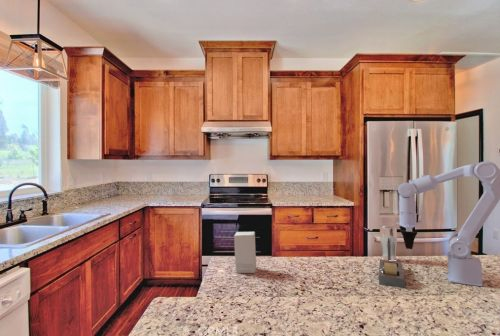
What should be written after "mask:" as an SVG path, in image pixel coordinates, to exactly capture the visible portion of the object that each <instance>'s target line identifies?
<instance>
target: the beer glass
mask: <svg viewBox="0 0 500 336" xmlns="http://www.w3.org/2000/svg"><path fill="white" fill-rule="evenodd" d="M379 227H380V228H379V240H380V246H381V250H382V253H381V254H382V255H381V258H382V257H383V259H385V260H396V259H397V256H396V255H397V254H396V250H397V245H398V232H397V231H398V230H397V226H394V225H380V226H379Z"/></svg>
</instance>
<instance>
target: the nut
mask: <svg viewBox="0 0 500 336" xmlns="http://www.w3.org/2000/svg"><path fill="white" fill-rule="evenodd" d="M384 274H387V275H394V276H397V265H396V264H395V263H387V262H384Z"/></svg>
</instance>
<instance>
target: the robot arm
mask: <svg viewBox="0 0 500 336" xmlns="http://www.w3.org/2000/svg"><path fill="white" fill-rule="evenodd" d="M474 176H475V177H476V179H478V180H479V182H481V185H482V187H483V190H484V191H483V193H482V194H481V196H480V198H479V199H478V201H477V202H476V204H475V206H474V207H473V209H472V211H470V213H469V215H468V217H467V218H466V220H465V222H463V224H462V226H461V227H460V229H459V230H458V231H457V233H456V234H454V235H452V236H450V237H449V239H448V245H447V247H448V252H447V253H446V254H447V273H444V275H445V277H446V279H447V280H448V282H449V283H454V284H455V283H456V284H463V285H469V286H470V285H471V286H476V287H484V284H483V273H482V272H483V268H482V262H481V259H480V257H475V256H473V254H471V253H472V245H473V243H474V241H475V239H476V236H477V235H478V233H479V231H480V230H481V229H482V227H483V226H484V224H485V223H486V222H487V220H488V218H489V217H490V215H491V214H492V212H493V211H494V210H495V207H496V206H497V204H498V203H499V201H500V168H499V166H498V165H497V164H496V163H494V162H493V161H489V160H487V161H486V160H484V161H480V162H478V163H472V164H471V163H470V164H466V165H462V166H460V167H457V168H454V169H451V170H448V171H446V172H443V173H440V174H438V175H437V174H436V175H431V174H427V175H426V174H422V175H421V176H420V177H418V178H414V179H408V182H403V183H401V184H400V185H399V186H398V187H397V193H398V198H399V199H398V212H399V216H398V218H399V221H398V222H396V225H397V226H399V230H400V231H399V232H400V233H401V235H402V238H403V242H404V246H405V249H407V250H413V248H414V243H415V238H416V237H417V234H418V231H415V230H416V227H417V225H418V224H417V218H416V217H417V215H416V213H417V211H416V201H415V199H416V197H415V194H418V195H419V194H423V193H426V192H428V191H431V190H435V189H437V187H438V185H439V184H441V183H446V182H449V181H452V180H455V179H458V178H463V177H465V178H466V177H467V178H474Z"/></svg>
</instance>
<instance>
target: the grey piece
mask: <svg viewBox="0 0 500 336" xmlns="http://www.w3.org/2000/svg"><path fill="white" fill-rule="evenodd" d="M384 262H387V263H395V264H396V265H397V276H394V275H387V274H384ZM378 267H379V268H378V270H379V271H378V285H381V286H388V287H396V288H400V289H406V280H405V274H404V269H403V262H402V261H389V260H382V258H381V259H379V266H378Z"/></svg>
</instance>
